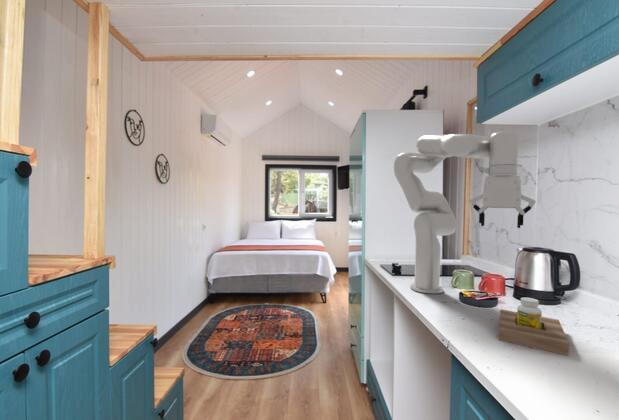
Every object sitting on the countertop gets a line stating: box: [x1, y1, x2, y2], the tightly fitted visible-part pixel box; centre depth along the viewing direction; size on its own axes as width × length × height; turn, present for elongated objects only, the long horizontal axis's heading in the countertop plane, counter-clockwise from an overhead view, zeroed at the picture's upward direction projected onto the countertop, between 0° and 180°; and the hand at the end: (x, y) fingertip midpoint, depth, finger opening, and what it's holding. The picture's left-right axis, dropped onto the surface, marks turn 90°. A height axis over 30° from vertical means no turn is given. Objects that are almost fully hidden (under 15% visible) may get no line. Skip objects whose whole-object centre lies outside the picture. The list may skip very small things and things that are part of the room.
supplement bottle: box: [516, 297, 543, 330], centre depth 84 cm, size 5×5×10 cm
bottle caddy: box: [498, 309, 570, 356], centre depth 83 cm, size 18×14×3 cm
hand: (500, 226), depth 96 cm, fingers open, 9 cm apart
